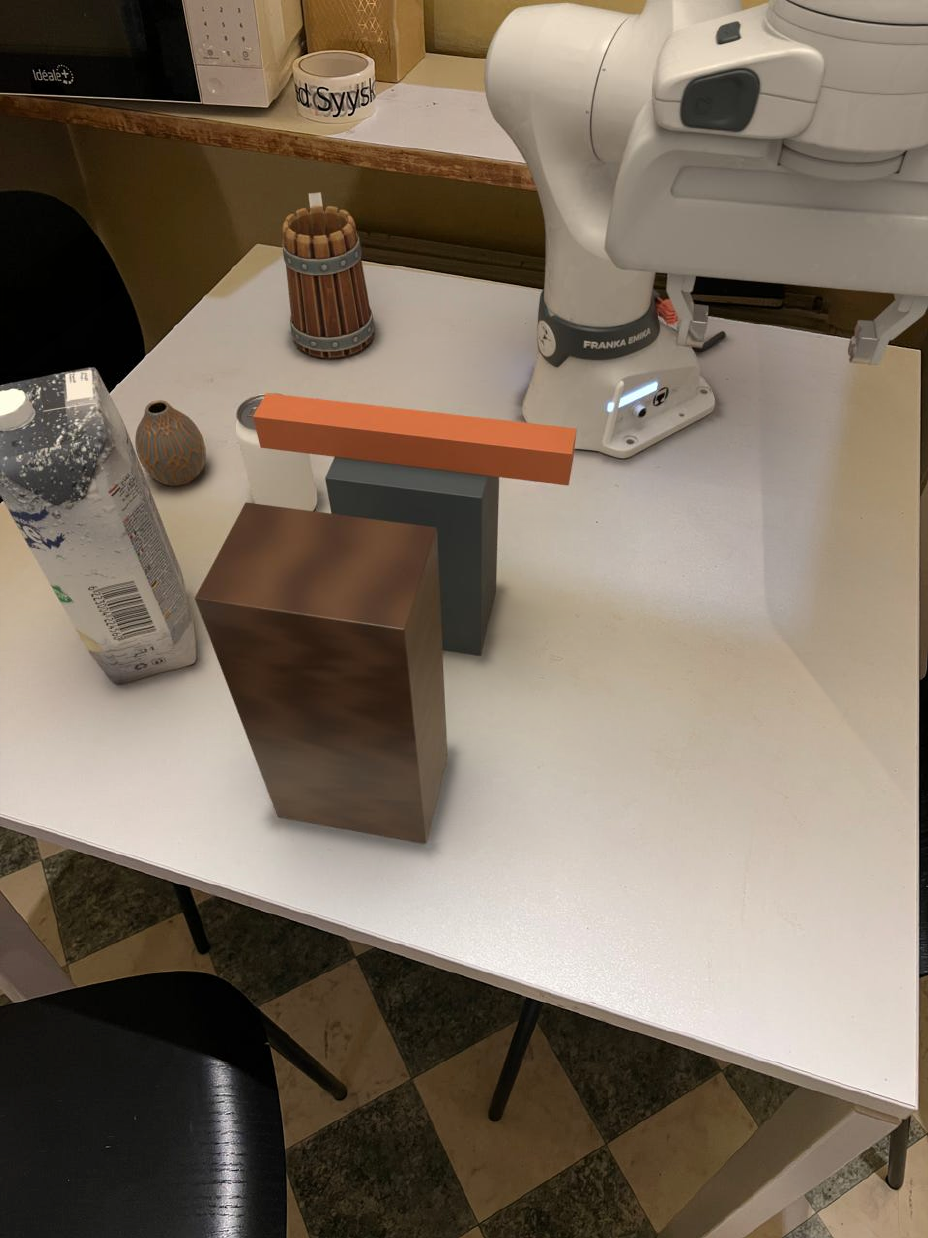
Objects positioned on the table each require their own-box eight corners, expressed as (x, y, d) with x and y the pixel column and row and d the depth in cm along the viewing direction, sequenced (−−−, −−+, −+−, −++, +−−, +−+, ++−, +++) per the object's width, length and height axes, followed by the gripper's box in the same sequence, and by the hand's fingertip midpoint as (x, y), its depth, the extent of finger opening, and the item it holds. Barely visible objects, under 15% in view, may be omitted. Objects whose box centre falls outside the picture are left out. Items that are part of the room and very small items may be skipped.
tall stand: (447, 755, 71) (437, 527, 51) (426, 844, 66) (404, 630, 46) (308, 731, 73) (245, 501, 53) (276, 817, 68) (193, 598, 48)
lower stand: (496, 590, 82) (500, 430, 68) (480, 656, 77) (482, 498, 63) (375, 573, 84) (354, 413, 70) (352, 636, 79) (324, 477, 64)
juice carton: (190, 588, 83) (96, 339, 62) (209, 670, 77) (110, 423, 56) (96, 613, 81) (-35, 365, 60) (106, 699, 75) (-35, 455, 54)
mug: (379, 356, 108) (368, 238, 96) (294, 365, 107) (272, 247, 95) (367, 292, 118) (356, 178, 106) (290, 299, 117) (269, 185, 105)
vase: (180, 503, 91) (157, 436, 84) (133, 480, 93) (107, 413, 86) (225, 466, 95) (206, 399, 88) (179, 445, 97) (157, 379, 90)
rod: (573, 460, 66) (576, 428, 63) (568, 485, 64) (572, 453, 61) (273, 424, 69) (266, 392, 66) (260, 447, 67) (252, 416, 65)
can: (307, 530, 88) (287, 435, 79) (247, 521, 89) (221, 427, 80) (326, 488, 92) (309, 394, 83) (268, 480, 93) (246, 386, 84)
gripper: (1096, 59, 38) (961, 337, 49) (632, 34, 41) (599, 303, 52) (1138, 114, 34) (981, 404, 45) (621, 83, 37) (588, 363, 48)
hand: (774, 349), depth 48 cm, fingers open, 8 cm apart
